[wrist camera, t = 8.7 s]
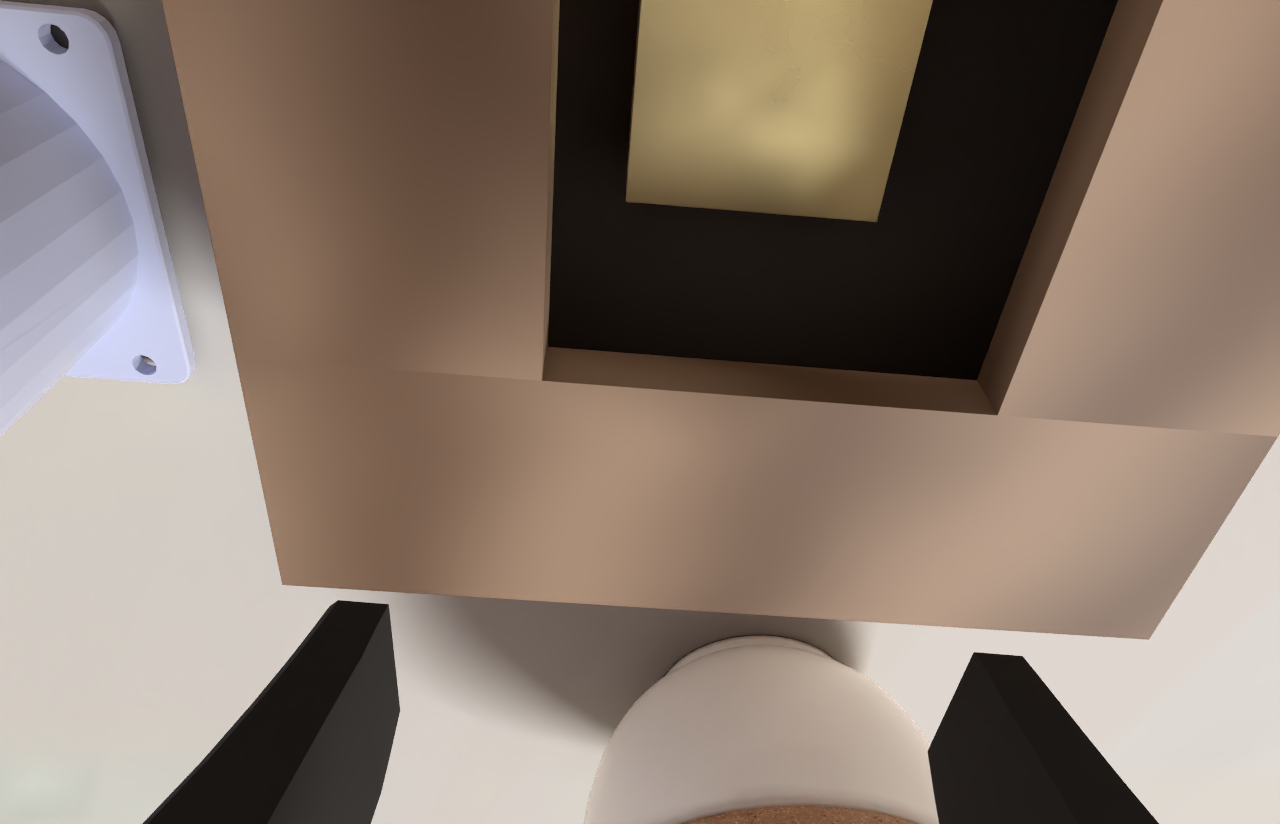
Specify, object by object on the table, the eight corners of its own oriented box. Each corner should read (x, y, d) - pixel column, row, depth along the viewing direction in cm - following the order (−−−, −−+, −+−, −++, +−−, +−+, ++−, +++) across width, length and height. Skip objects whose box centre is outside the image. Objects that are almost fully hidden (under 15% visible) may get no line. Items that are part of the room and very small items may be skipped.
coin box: (374, 385, 21) (282, 584, 15) (273, -606, 12) (-37, -958, 6) (1023, 434, 22) (1149, 639, 16) (1402, -457, 12) (1973, -656, 7)
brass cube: (627, 147, 18) (625, 201, 15) (647, -108, 15) (648, -92, 13) (844, 165, 18) (876, 222, 15) (899, -83, 15) (948, -62, 13)
